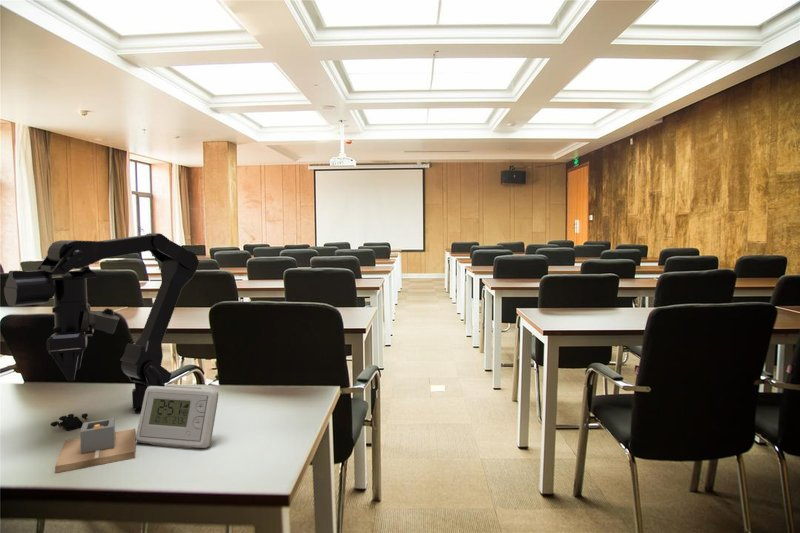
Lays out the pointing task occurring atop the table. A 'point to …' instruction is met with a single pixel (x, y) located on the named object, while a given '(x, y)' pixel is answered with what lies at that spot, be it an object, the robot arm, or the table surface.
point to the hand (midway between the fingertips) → (73, 374)
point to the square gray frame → (97, 435)
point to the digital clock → (177, 416)
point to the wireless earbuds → (70, 422)
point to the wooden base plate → (96, 452)
